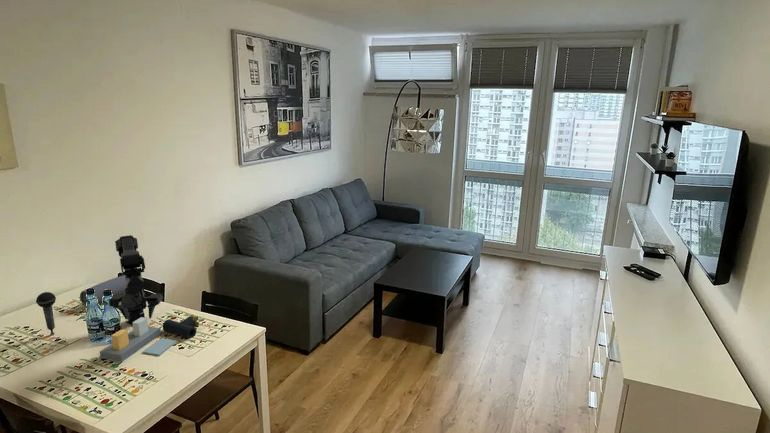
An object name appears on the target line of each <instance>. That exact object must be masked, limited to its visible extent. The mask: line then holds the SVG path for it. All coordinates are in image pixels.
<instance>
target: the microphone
mask: <svg viewBox="0 0 770 433" xmlns="http://www.w3.org/2000/svg"><path fill="white" fill-rule="evenodd" d="M56 300H57V297H56V295H55V294H54V293H52V292H50V291H43V292H42V293H40V294H38V296H37V297H36V300H35V303H36V304H37V306H39V307H40V308H42V310H43V314H44V320H45V324H46V327H47V328H46V329H47V330H49V331H50V335H51V336H54V335H55V332H54V330H55V328H56V325H55V316H54V311H53V310H54V309H53V305H54V304H55V303H56Z"/></svg>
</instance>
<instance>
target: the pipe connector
mask: <svg viewBox="0 0 770 433" xmlns="http://www.w3.org/2000/svg"><path fill="white" fill-rule="evenodd" d="M198 320H199V316H196V315H194V314H193V315H192V314H191V315H189V316H187V317H186V318H185V319H183V320H181V321H180V322H179V321H175V320H173V319H166V320H165V321H164V322H163V324H162V330H163V331H166V332H168V333H171V334H173V335H174V334H175V335H177V336H181V337H184V338H187V339H192V338H194V337H195V335H196V334H197V328H196V327H198V326H199V325H200V321H198Z"/></svg>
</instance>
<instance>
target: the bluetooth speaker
mask: <svg viewBox="0 0 770 433" xmlns="http://www.w3.org/2000/svg"><path fill="white" fill-rule="evenodd" d="M89 288H93V289H94V290H95V295H96V296H97V299H98V303H99V304H98V305H102V304H101V303H102V297H103V291H104V290H105V289H110V290H111V291H112V294H113V296H114V295H117V294H125V289H126V280H125V275H123V276H122V275H120V276H117V277H114V278H112V279H108V280H104V282H100V283H98V284H96V285H93V286H91V287H88V288H87V289H89ZM87 289H84V290H82V291H81V292H80V294H79V299H80V302H81V304H82V305H84V307H87V306H86V290H87Z"/></svg>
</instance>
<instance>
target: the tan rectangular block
mask: <svg viewBox="0 0 770 433" xmlns="http://www.w3.org/2000/svg"><path fill="white" fill-rule="evenodd" d="M128 333H129V332H128V330H126V329H120V330H118V331H116V332H115V333H112V335H110V338H111V344H113V349H114V350H121V349H122V348H124V347H125V346H127V345H128V344H129V339H128Z"/></svg>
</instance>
